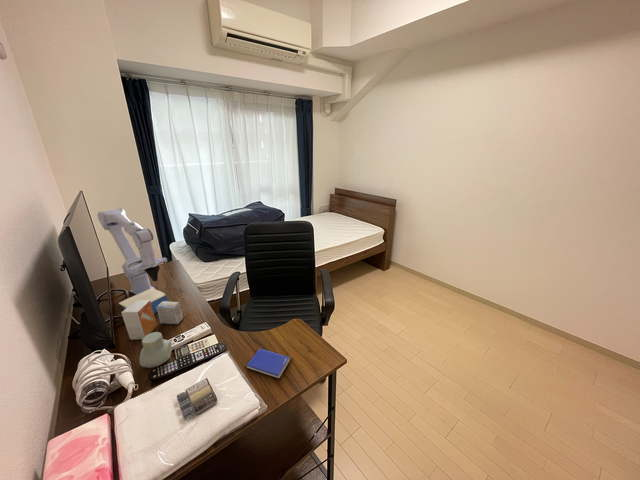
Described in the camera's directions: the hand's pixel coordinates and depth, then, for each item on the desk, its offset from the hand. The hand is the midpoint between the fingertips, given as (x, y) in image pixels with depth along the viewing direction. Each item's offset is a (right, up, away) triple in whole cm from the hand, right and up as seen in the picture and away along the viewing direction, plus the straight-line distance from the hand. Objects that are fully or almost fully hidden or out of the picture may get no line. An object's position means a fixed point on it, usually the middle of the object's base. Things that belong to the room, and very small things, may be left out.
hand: (155, 280), depth 122 cm
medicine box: (+15, -16, -12) cm, 25 cm away
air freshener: (+22, -23, -31) cm, 45 cm away
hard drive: (+62, -24, -34) cm, 75 cm away
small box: (+8, -19, -19) cm, 27 cm away
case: (-1, -13, -4) cm, 14 cm away
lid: (-1, -8, -7) cm, 10 cm away
